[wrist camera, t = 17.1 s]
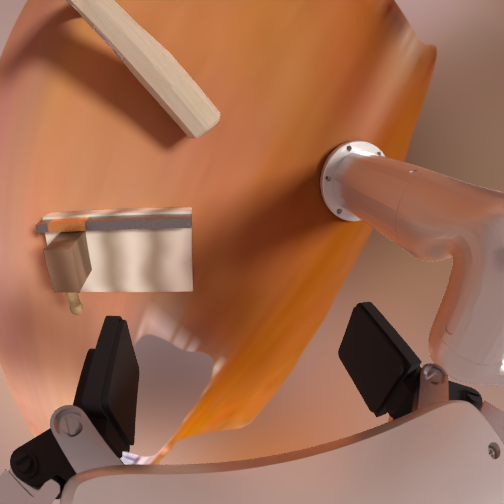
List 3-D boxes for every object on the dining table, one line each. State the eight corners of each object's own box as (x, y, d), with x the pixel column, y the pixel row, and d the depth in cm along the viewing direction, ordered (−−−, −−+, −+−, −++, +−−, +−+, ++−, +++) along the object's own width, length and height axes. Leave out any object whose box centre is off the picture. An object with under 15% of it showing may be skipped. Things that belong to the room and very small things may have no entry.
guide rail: (191, 213, 35) (191, 218, 33) (191, 222, 35) (191, 228, 33) (42, 219, 30) (36, 224, 28) (43, 227, 30) (37, 233, 29)
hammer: (239, 125, 24) (63, -63, 5) (200, 155, 25) (23, -30, 5) (208, 107, 36) (90, -22, 16) (183, 127, 36) (63, 0, 17)
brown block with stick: (85, 230, 32) (69, 249, 27) (97, 295, 37) (87, 320, 31) (61, 231, 31) (43, 250, 26) (75, 295, 36) (63, 319, 31)
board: (191, 207, 36) (191, 211, 34) (192, 283, 41) (192, 291, 40) (48, 213, 32) (42, 217, 30) (63, 284, 37) (58, 290, 35)
